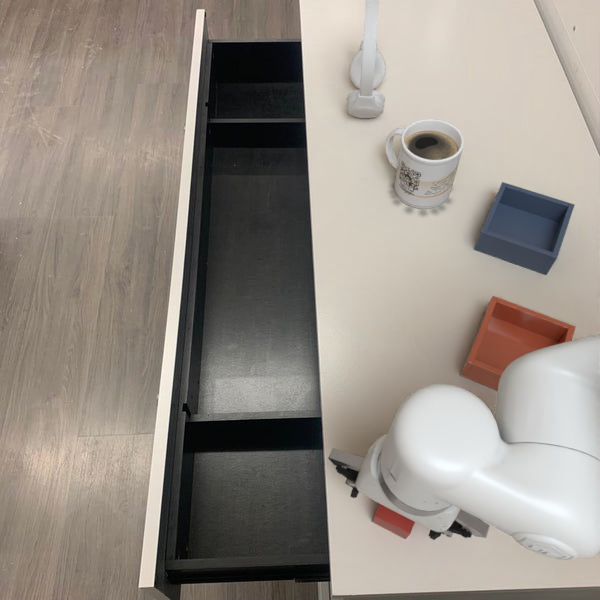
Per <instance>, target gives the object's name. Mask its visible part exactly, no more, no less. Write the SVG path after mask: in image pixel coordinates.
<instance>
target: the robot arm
mask: <svg viewBox="0 0 600 600" xmlns="http://www.w3.org/2000/svg"><path fill="white" fill-rule="evenodd" d="M328 461H330V462H331V464H332V465H334V466H335V467H334V468H335V471H336V472H337V473H338V474H339V475H342V476H343V477H344V478H346V479H345V482H344V484H345V485H346V486H348V487H351V492H350V498H353V499H357V497H358V495H359V493H360V494H361V495H363V496H365V497H367V498H368V499H370V500H372V501H374V502H375V503H377V504H378V505H379V504H381V505H383V506H385V507H387V508H389V509H391V510H393V511H395V512H397V513H399V514H401V515H402V516H404V517H406V518H408V519H410V520H412V521H414V522H415V524H418V525H420V526H422V527H424V528H426V529H428V530H429V533H428V537H429V539H431V540H432V541H435V540H436V539H438V538H439V537H441V535H443V536H445V537H448V538H453V535H454V534H456V535H459V536H461V537H463V538H465V539H467V538H472V536H473V537H476V538H482V539H486V538H487V536H488V534H489V531H490V527H494V528H496V529H497V530H499V531H501V532H502V533H505V534H507V535H508V536H510V537H512V538H513V540H514V541H515V542H516V543H517V544H519V545H521V546H522V547H523V548H526V549H527V550H529V551H531V552H533V553H536V554H539V555H542V556H545V557H548V558H551V559H556V560H563V561H573V560H583V559H588V558H591V557H594V556H595V555H597V554H598V553H600V333H599V334H592V335H588V336H583V337H580V338H576V339H572V341H568V342H564V343H560V344H556V345H553V346H549V347H545V348H542V349H538V350H535V351H532V352H530V353H527V354H525V355H523V356H521V357H519V358H517V359H516V360H514V361H513V362H512V363H510V364H509V365H508V366H507V368H506V369H505V370H504V372H503V373H502V375H501V378H500V380H499V385H498V391H496V402H495V410H494V414H493V413H492V411H491V410H490V408H489V407H488V406H487V404H486V403H485V402H484V401H483V400H482V399H481V398H480V397H478V396H477V395H476V394H474V393H473V392H471V391H469V390H467V389H465V388H464V387H460V386H458V385H453V384H448V383H435V384H429V385H426V386H423V387H421V388H419V389H417V390H414V391H413V392H412V393H410V394H409V395H408V396H407V397H406V398H405V399H404V400H403V401H402V402H401V404H400V406H399V407H398V409H397V410H396V412H395V415H394V418H393V420H392V424H391V425H390V428H389V430H388V432H387V433H386V434H383V435H381V436H380V437H378V438H377V439H376V440H374V442H373V443H372V445H371V446H370V447H369V449H368V451H367V452H366V455H365V457H362V456H359V455H356V454H353V453H351V452H348V451H346V450H345V451H344V450H342V449H338V448H335V447H333V448H332V449H331V452H329V455H328Z"/></svg>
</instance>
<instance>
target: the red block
mask: <svg viewBox="0 0 600 600" xmlns="http://www.w3.org/2000/svg"><path fill="white" fill-rule="evenodd" d="M371 522H372V523H373V524H375V525H377V526H379V527H381V528H383V529H384V530H387V531H389V532H391V533H393V534H394V535H395V536H398V537H400V538H401V539H404V540H407V538H408V537H409V536H410V535H411V533H412V532H413V528H414V525H415V524H416V522H414V521H412V520H410V519H408V518H406V517H404V516H402V515H401V514H399V513H397V512H395V511H393V510H391V509H389V508H387V507H385V506H383V505H381V504H379V503H378V506H377V509H376V511H375V513H374V516H373V518H372V521H371Z"/></svg>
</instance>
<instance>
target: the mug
mask: <svg viewBox="0 0 600 600" xmlns="http://www.w3.org/2000/svg"><path fill="white" fill-rule="evenodd" d="M395 136H401V138H400V145H399V150H398V156H397V155H396V153H395V150H394V145H393V142H394V138H395ZM384 144H385V145H384V147H385V155H386V157H387V160H388V161H389V164H390V165H391V166H392V167H393V169H395V177H394V184H393V188H394V192H395V195H396V196H397V198H398V199H399V200H400V201H401V202H402V203H403V204H405V205H407V206H409V207H412V208H416V209H422V210H423V209H424V210H427V209H433V208H436V207H440V206H441V205H442V204H444V203H445V202H446V201H447V200H448V199H449V197H450V195H451V192H452V188H453V185H454V182H455V177H456V174H457V172H458V171H457V170H458V167H459V162H460V160H461V157H462V153H463V149H464V147H465V146H464V145H465V140H464V136H463V134H462V132H461V131H460V130H459V128H457V127H456V126H455V125H454V124H452V123H450V122H447V121H444V120H441V119H438V118H437V119H436V118H424V119H419V120H417V121H414V122H412V123H410V124H409V125H408V126H407V127H405V126H398V127H396V128H394V130H392V131H391V132H390V133H388V135H387V136H386V139H385V143H384Z"/></svg>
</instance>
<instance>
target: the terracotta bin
mask: <svg viewBox="0 0 600 600" xmlns="http://www.w3.org/2000/svg"><path fill="white" fill-rule="evenodd" d="M576 327H577V326H575V325H573V324H571V323H568V322H565V321H563V320H559V319H556V318H554V317H551V316H548V315H546V314H544V313H541V312H538V311H535V310H533V309H530V308H527V307H525V306H523V305H519V304H517V303H515V302H511V301H508V300H506V299H503V298H501V297H498V296H495V295H492V296H491V298H490V300H489V301H488V304H487V306H486V308H485V310H484V312H483V315H482V318H481V320H480V323H479V325H478V328H477V330H476V332H475V335H474V338H473V340H472V343H471V346H470V348H469V350H468V353H467V356H466V359H465V361H464V363H463V367H462V369H461V371H460V374H459V375H460V376H461V377H463V378H466V379H469V380H470V381H473V382H474V383H475V382H476V383H478V384H480V385H482V386H485V387H487V388H489V389H492V390H494V391H496V392H498V385H499V380H500V378H501V375H502V373H503V372H504V370H505V369H506V368H507V366H508V365H509V364H510V363H512V362H513V361H514V360H516V359H517V358H519V357H521V356H523V355H525V354H527V353H530V352H532V351H535V350H538V349H542V348H545V347H549V346H553V345H556V344H560V343H564V342H568V341H572V340H573V337H574V334H575V330H576Z"/></svg>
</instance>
